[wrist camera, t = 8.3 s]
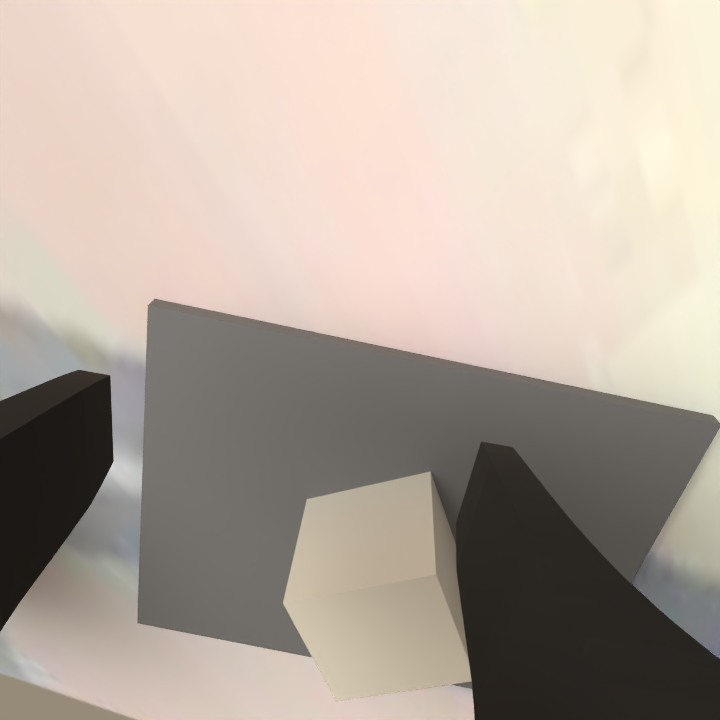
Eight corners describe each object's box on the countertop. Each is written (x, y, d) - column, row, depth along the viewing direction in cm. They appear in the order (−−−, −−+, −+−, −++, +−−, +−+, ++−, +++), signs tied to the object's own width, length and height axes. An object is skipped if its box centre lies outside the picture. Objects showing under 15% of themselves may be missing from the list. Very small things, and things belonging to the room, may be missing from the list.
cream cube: (430, 471, 22) (436, 574, 18) (463, 566, 24) (476, 680, 20) (306, 499, 23) (282, 603, 19) (348, 588, 25) (335, 701, 21)
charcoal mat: (712, 415, 21) (721, 425, 20) (557, 693, 28) (560, 705, 28) (154, 298, 21) (147, 305, 20) (142, 612, 28) (137, 623, 27)
